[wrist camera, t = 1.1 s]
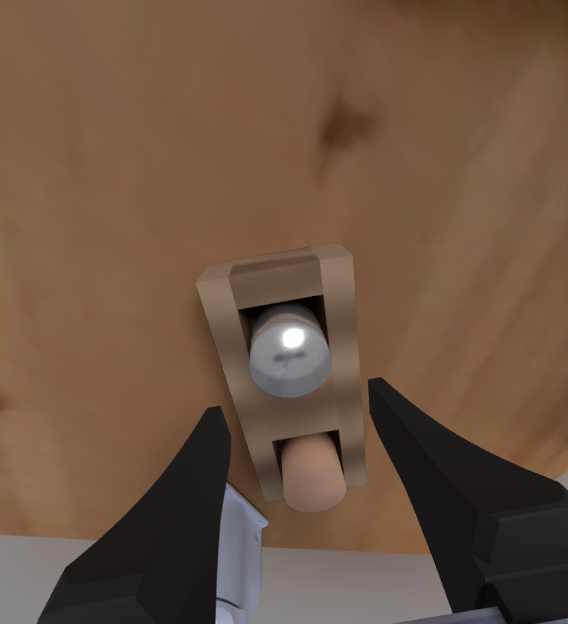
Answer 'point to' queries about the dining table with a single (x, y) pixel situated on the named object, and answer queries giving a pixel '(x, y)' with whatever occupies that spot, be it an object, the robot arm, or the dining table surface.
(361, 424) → the wooden peg holder
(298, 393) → the near peg
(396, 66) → the dining table surface
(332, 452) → the far peg
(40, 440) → the dining table surface
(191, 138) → the dining table surface
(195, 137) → the dining table surface
